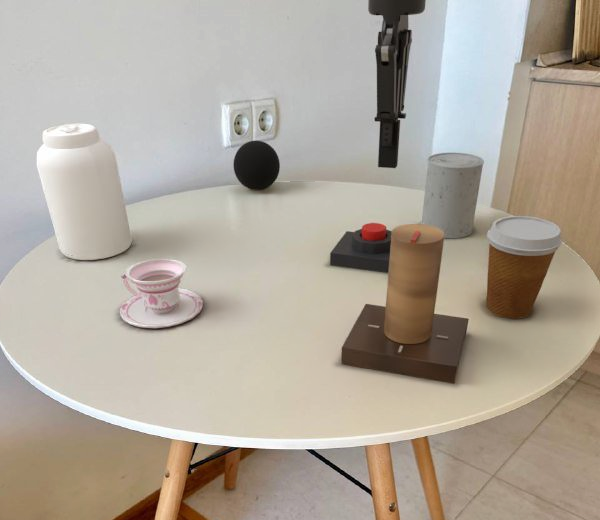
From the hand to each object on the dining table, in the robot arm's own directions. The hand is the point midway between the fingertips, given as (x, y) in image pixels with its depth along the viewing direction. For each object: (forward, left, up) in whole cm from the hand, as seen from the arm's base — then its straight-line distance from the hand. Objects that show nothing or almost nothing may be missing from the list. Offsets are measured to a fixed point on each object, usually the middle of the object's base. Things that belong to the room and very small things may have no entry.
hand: (387, 166), depth 91 cm
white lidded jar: (+49, +10, -15) cm, 53 cm away
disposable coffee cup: (-21, +12, -15) cm, 29 cm away
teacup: (+26, +27, -15) cm, 41 cm away
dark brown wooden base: (-10, +27, -15) cm, 33 cm away
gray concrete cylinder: (-9, -17, -15) cm, 24 cm away
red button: (+1, 0, -12) cm, 12 cm away
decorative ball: (+34, -29, -15) cm, 47 cm away
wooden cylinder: (-10, +27, -12) cm, 31 cm away
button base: (+1, 0, -15) cm, 15 cm away
